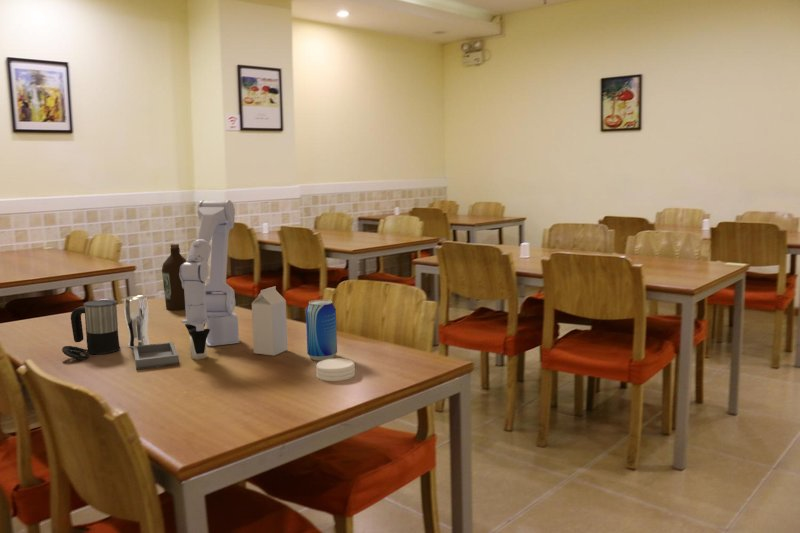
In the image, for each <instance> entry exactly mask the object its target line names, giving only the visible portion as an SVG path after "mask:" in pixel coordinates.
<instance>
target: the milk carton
mask: <svg viewBox="0 0 800 533" xmlns="http://www.w3.org/2000/svg"><path fill="white" fill-rule="evenodd" d="M276 288H277V287H276V285H275V286H272V287H267V288H265V289H261V290H260V293H259V294H258V295H257V297H256V298H255V299H254V300H253V301H252V302H251V321H252V338H253V340H252V341H253V343H252V344H253V354H256V355H266V356H273V357H274V356H277V355H279V354H281V353H283V352H285V351H288V348H289V346H288V344H289V343H288V324H287V323H288V321H287V300H286V299H285V298H284V297H283V296H282V295H281V294H280V293H279V292H278V291H277V289H276Z"/></svg>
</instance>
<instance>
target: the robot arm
mask: <svg viewBox="0 0 800 533" xmlns="http://www.w3.org/2000/svg"><path fill="white" fill-rule="evenodd" d="M235 215H236V212H235V206H234V203H233V202H232V200H230V199H227V200H200V201H199V202H198V205H197V216H198V219H199V227H198V232H197V236H196V237H197V238H196V239H195V240H193V241H192V242H191V243H190V244H191V245H190V248H189V250H188V254H187V258H186V262H185V263H184V264H182V265H181V267H180V273H179V276H180V280H181V282H182V288H183V289H184V294H185V309H184V310H185V319H181V323H182V324H184V326H185V328H186V329H187V332H188V334H189V336H190V335H191V337H192V339H193V343H194V348H195V351H196V354H202V353H204V351H205V344H206V346H207V347H215V346H222V345H223V346H224V345H232V344H240V338H239V337H240V336H239V335H240V333H239V317H238V314H237V313H236V312H234V311H235V310H236V298H235V289H233V287H231V286H230V284H228V283H227V269H228V254H229V253H228V252H229V235H230V230H232V229H234V225H235V218H236V217H235ZM210 242H211V244H210ZM209 259H210V268H209V263H208V262H209ZM209 269H210V270H209ZM208 276H209V282H208V283H207V284H206V282H207V280H208ZM205 325H206V326H205ZM205 327H206V328H205Z"/></svg>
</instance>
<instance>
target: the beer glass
mask: <svg viewBox="0 0 800 533" xmlns="http://www.w3.org/2000/svg"><path fill="white" fill-rule="evenodd" d="M123 300H124V301H123V303H124V304H123V313H124V319H125V323H126V326H127V330H128V347H129V348H130V349H131V348H132V349H133V346H141V345H150V339H149V335H148V328H149V318H150V313H149V312H150V311H149V310H150V308H149V302H148V296H146V295H133V296H132V295H131V296H126V297H124V299H123Z"/></svg>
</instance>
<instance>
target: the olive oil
mask: <svg viewBox="0 0 800 533" xmlns="http://www.w3.org/2000/svg"><path fill="white" fill-rule="evenodd" d="M186 260H187V258H184V256H183V255H182V254H181V251H180V244H179V243H172V244H170V255H169V256H168V257H167V258H166V259H165V261H164V262H163V263H162V266H161V274H162V282H163V292H164V300H165V309H166V310H168V311H181V310H185V294H184V289H183V288H182V282H181V280H180V276H179V273H180V267H181V265H182V264H184V263H185V262H186Z"/></svg>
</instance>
